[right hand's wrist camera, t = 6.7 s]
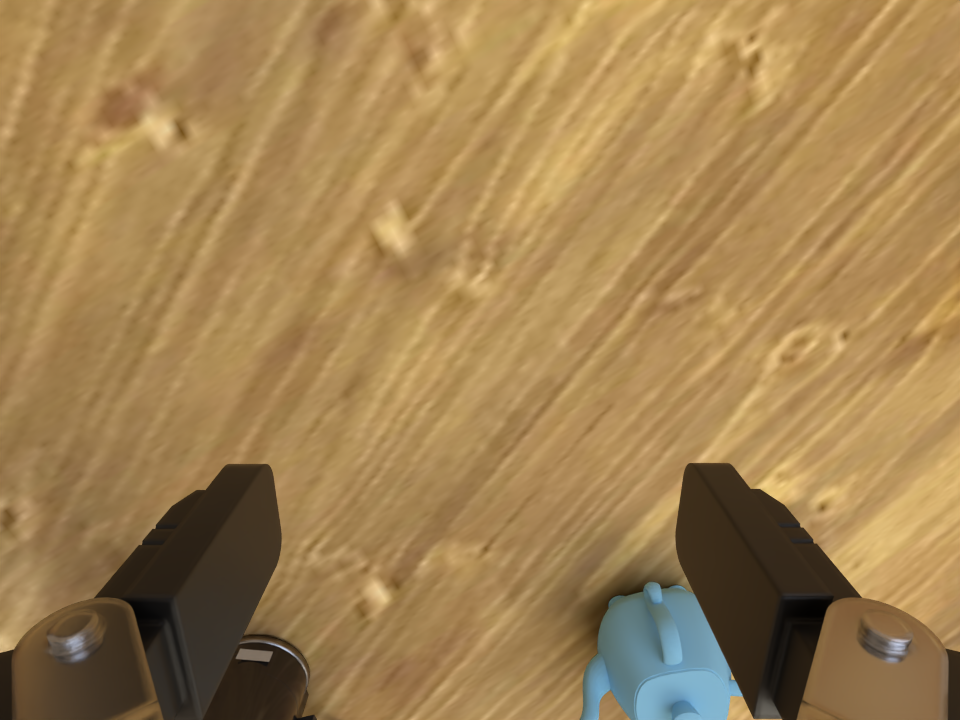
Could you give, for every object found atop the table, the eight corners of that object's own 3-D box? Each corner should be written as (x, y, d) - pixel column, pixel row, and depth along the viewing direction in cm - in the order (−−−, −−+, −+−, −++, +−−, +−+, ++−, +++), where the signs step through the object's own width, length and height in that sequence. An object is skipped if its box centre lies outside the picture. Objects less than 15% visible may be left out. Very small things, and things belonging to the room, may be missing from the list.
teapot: (739, 608, 57) (802, 708, 46) (643, 700, 60) (681, 814, 50) (643, 544, 55) (686, 634, 44) (548, 643, 58) (566, 750, 47)
